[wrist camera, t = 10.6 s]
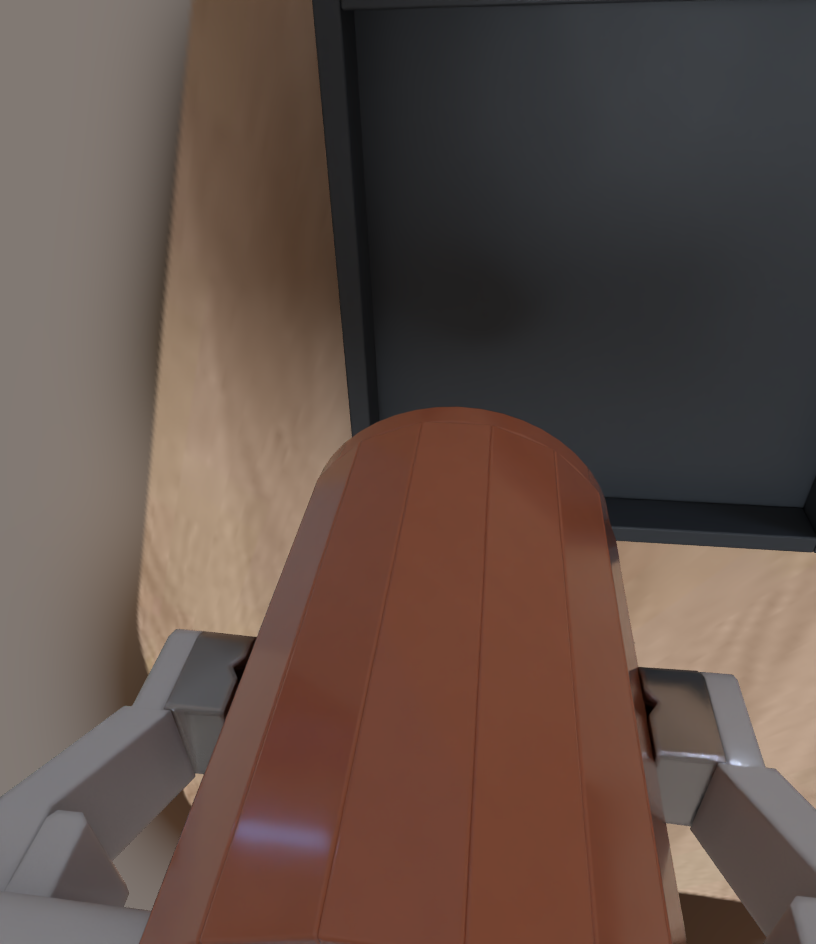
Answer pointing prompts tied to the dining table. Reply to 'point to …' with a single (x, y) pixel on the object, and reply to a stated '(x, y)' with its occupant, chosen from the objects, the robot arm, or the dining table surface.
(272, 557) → the dining table surface
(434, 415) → the cup
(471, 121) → the tray
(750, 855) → the robot arm
